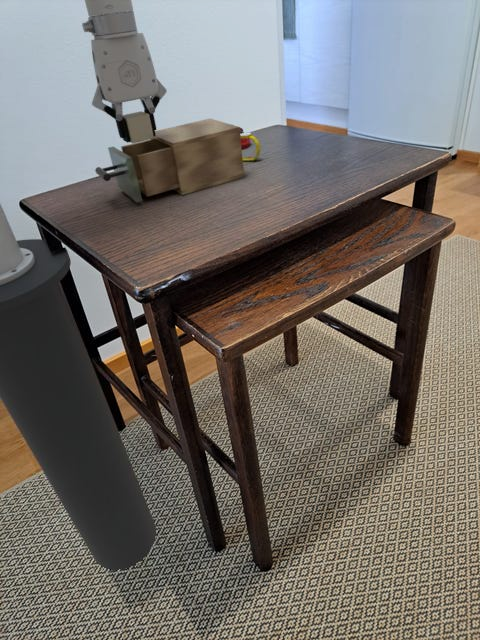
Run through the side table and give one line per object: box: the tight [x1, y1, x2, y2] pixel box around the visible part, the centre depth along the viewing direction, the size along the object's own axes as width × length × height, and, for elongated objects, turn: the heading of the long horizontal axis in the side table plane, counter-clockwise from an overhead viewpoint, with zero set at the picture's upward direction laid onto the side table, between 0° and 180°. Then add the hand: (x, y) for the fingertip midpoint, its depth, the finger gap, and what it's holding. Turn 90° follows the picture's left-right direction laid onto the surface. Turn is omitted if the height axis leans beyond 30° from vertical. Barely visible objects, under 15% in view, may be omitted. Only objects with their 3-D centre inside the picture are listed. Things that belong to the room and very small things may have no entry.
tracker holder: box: [231, 123, 251, 149], centre depth 117 cm, size 12×4×10 cm
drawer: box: [94, 139, 179, 203], centre depth 90 cm, size 18×12×8 cm
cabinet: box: [153, 118, 245, 196], centre depth 95 cm, size 15×13×10 cm
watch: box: [240, 132, 261, 162], centre depth 103 cm, size 6×3×6 cm, turn 64°
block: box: [123, 110, 154, 144], centre depth 86 cm, size 4×4×4 cm
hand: (139, 137), depth 87 cm, fingers closed on block, 4 cm apart
